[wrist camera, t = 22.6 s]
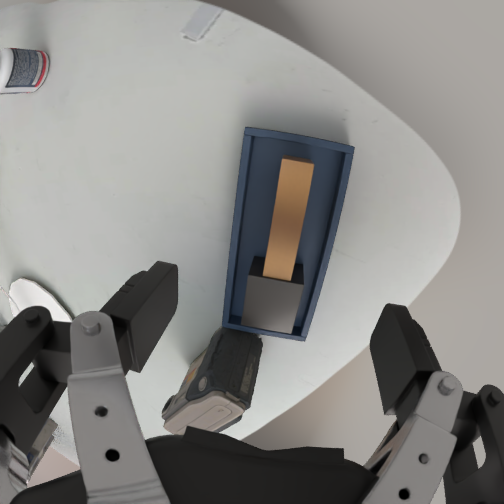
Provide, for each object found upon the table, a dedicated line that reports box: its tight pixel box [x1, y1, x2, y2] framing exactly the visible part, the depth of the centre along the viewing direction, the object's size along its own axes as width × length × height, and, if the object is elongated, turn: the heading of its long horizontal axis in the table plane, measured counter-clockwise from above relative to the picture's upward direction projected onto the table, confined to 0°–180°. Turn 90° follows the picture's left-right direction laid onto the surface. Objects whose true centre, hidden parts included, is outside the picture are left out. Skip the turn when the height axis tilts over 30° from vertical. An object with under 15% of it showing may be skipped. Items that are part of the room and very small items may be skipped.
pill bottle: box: [0, 48, 49, 95], centre depth 16 cm, size 5×5×9 cm
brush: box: [241, 155, 314, 334], centre depth 23 cm, size 14×4×4 cm, turn 172°
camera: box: [162, 326, 263, 435], centre depth 27 cm, size 11×6×10 cm, turn 142°
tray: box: [222, 127, 355, 341], centre depth 24 cm, size 18×8×2 cm, turn 172°
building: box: [27, 418, 57, 483], centre depth 48 cm, size 23×24×23 cm
